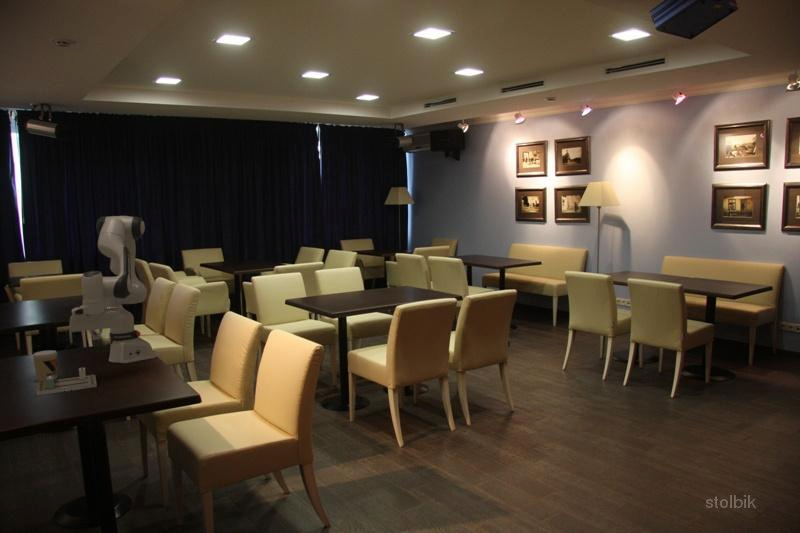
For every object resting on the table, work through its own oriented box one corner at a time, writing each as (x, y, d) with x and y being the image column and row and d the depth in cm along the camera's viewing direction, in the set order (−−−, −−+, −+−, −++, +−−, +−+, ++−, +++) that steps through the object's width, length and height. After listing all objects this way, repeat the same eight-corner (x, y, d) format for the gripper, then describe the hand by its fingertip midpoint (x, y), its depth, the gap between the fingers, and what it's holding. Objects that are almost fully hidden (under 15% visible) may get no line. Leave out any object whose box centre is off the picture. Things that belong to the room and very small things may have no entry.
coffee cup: (48, 382, 264) (45, 355, 262) (29, 381, 266) (27, 354, 264) (63, 376, 273) (61, 350, 272) (46, 375, 275) (44, 349, 273)
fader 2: (85, 376, 266) (84, 366, 265) (85, 378, 262) (85, 369, 262) (79, 377, 265) (78, 367, 264) (79, 379, 261) (78, 369, 261)
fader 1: (54, 385, 253) (53, 375, 253) (53, 388, 249) (53, 377, 249) (47, 386, 252) (46, 376, 252) (47, 389, 248) (46, 378, 248)
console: (95, 378, 269) (95, 373, 269) (96, 386, 256) (96, 381, 256) (38, 386, 259) (37, 381, 258) (36, 395, 246) (36, 390, 245)
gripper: (119, 305, 271) (121, 335, 272) (68, 309, 261) (70, 340, 263) (120, 307, 265) (122, 337, 267) (68, 311, 256) (70, 343, 257)
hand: (96, 339), depth 265 cm, fingers closed
